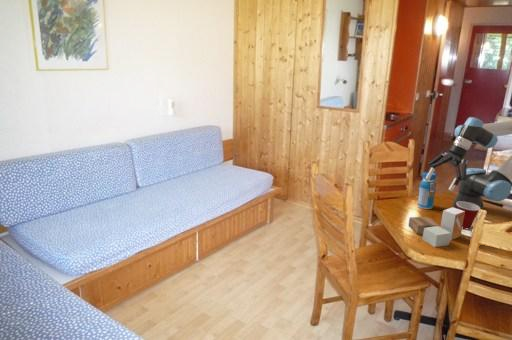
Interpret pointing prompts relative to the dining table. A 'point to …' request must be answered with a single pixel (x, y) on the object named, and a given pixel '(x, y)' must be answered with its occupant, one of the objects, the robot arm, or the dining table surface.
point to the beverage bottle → (427, 192)
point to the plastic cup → (468, 212)
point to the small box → (453, 221)
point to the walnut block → (421, 224)
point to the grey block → (436, 236)
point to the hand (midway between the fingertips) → (438, 184)
